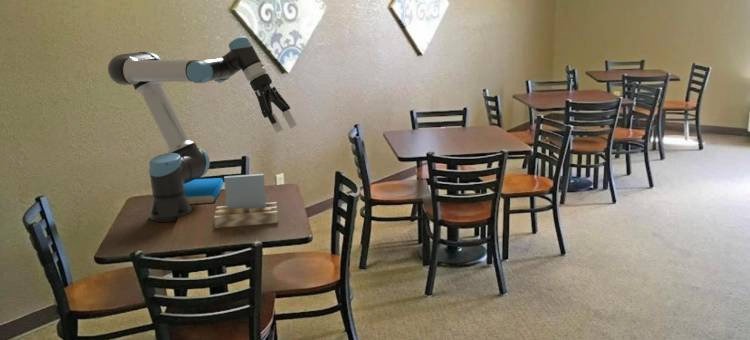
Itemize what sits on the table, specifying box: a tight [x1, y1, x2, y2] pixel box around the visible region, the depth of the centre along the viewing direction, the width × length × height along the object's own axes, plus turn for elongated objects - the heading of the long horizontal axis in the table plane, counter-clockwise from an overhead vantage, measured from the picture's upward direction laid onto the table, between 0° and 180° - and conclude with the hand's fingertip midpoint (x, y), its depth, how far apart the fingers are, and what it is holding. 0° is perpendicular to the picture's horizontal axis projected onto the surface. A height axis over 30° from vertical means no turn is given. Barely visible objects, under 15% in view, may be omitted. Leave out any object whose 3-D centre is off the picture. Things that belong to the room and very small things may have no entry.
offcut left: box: [217, 208, 244, 216], centre depth 216 cm, size 9×2×5 cm, turn 100°
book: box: [184, 177, 224, 205], centre depth 257 cm, size 17×4×25 cm
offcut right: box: [249, 207, 272, 213], centre depth 218 cm, size 8×2×4 cm, turn 101°
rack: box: [213, 201, 279, 229], centre depth 220 cm, size 22×12×6 cm, turn 101°
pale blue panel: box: [223, 173, 267, 209], centre depth 221 cm, size 14×2×16 cm, turn 101°
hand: (287, 129), depth 219 cm, fingers open, 13 cm apart
